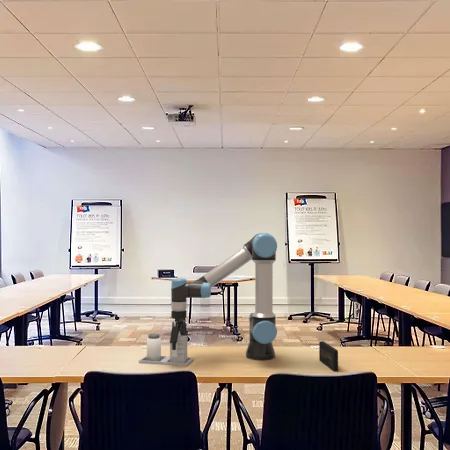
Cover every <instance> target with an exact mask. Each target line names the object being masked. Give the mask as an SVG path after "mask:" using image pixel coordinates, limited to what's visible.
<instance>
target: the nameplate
mask: <svg viewBox="0 0 450 450" xmlns="http://www.w3.org/2000/svg"><path fill="white" fill-rule="evenodd" d="M318 343H319V344H318V345H319V347H318V348H319V351H318V353H319V357H318V358H319V359H318V360H319V362H320V363H322V364H323V365H325V366H326V367H327V368H329V370H331V371H333V372H338V371H339V351H338V349H336V348H335V347H334V346H332V345H330V344H328V343H327V342H325V340H324V341H323V340H321V341H319V342H318Z"/></svg>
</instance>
